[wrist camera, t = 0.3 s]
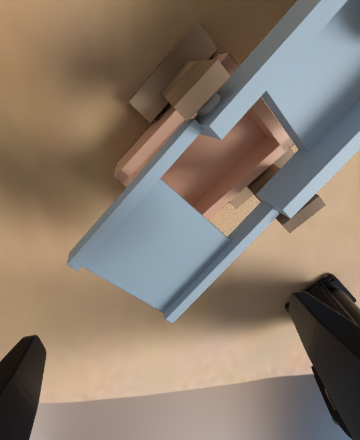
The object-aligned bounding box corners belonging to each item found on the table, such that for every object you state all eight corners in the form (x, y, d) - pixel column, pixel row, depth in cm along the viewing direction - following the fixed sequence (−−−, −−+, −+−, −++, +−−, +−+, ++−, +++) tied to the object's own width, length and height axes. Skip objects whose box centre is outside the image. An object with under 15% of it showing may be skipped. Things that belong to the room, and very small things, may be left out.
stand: (232, 203, 22) (273, 261, 16) (129, 100, 17) (125, 122, 11) (290, 152, 21) (362, 193, 14) (195, 23, 16) (238, -8, 9)
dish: (183, 219, 23) (188, 237, 20) (116, 163, 19) (113, 177, 17) (275, 135, 20) (294, 144, 18) (215, 54, 17) (229, 52, 14)
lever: (167, 308, 17) (178, 339, 15) (68, 250, 14) (62, 279, 11) (429, 36, 15) (491, 23, 12) (385, -113, 11) (458, -169, 9)
